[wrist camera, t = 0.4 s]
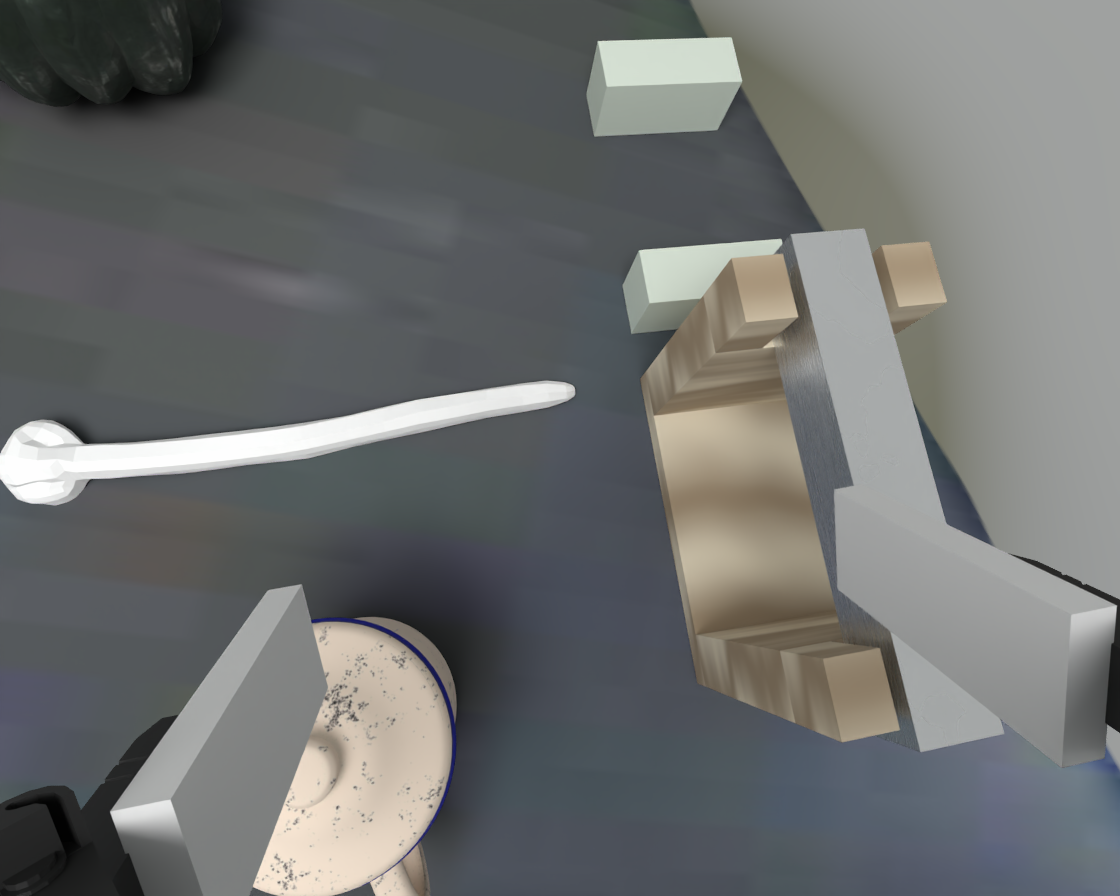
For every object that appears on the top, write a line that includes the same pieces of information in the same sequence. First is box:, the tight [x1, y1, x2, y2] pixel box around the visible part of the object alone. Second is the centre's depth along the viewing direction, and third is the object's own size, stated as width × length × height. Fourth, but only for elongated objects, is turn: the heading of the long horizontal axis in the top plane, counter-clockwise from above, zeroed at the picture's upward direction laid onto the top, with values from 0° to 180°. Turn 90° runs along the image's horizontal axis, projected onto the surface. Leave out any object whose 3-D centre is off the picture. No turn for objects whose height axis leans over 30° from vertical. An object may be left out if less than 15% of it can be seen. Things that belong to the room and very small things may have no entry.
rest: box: [586, 38, 782, 334], centre depth 37 cm, size 16×8×4 cm, turn 9°
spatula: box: [0, 381, 575, 505], centre depth 33 cm, size 28×4×3 cm, turn 103°
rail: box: [772, 229, 1004, 752], centre depth 24 cm, size 18×3×3 cm, turn 9°
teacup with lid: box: [253, 617, 457, 896], centre depth 25 cm, size 12×9×12 cm
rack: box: [640, 242, 947, 742], centre depth 29 cm, size 16×8×14 cm, turn 9°
